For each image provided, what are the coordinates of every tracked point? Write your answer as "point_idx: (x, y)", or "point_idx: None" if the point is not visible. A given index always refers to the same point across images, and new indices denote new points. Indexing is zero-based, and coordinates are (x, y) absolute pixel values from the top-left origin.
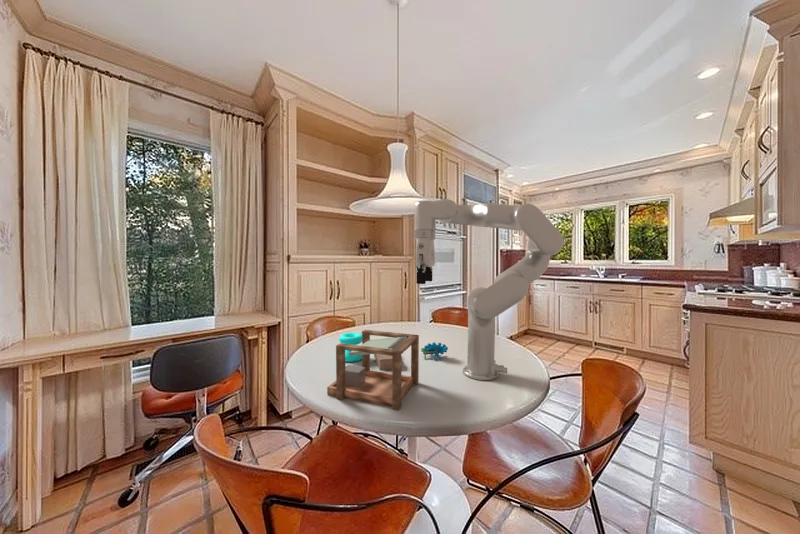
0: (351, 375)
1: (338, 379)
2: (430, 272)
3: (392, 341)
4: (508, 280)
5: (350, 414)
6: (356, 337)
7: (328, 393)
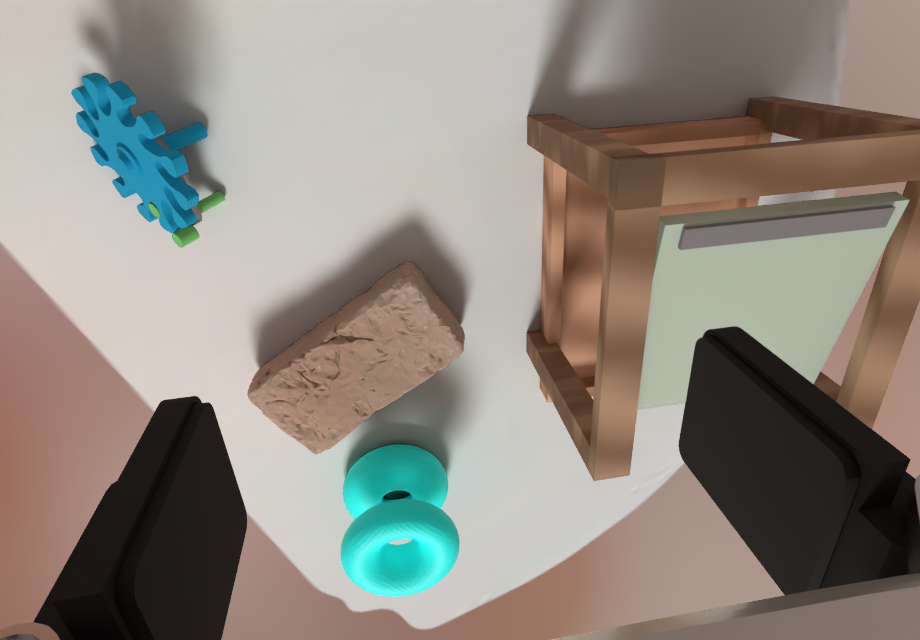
0: None
1: None
2: (157, 575)
3: (737, 266)
4: None
5: None
6: (425, 527)
7: None
